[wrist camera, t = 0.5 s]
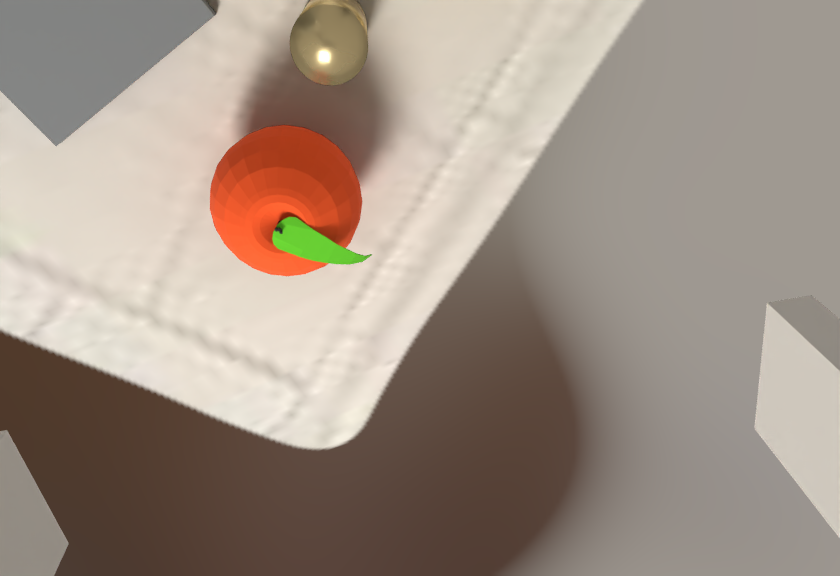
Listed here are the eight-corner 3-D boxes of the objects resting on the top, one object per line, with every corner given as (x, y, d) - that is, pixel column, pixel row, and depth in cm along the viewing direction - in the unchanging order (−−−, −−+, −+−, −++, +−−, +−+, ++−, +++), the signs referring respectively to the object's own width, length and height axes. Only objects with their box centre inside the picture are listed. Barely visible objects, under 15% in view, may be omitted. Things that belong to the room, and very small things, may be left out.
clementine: (405, 163, 36) (414, 215, 30) (339, 270, 38) (335, 338, 32) (261, 81, 33) (237, 118, 27) (201, 201, 36) (167, 260, 30)
